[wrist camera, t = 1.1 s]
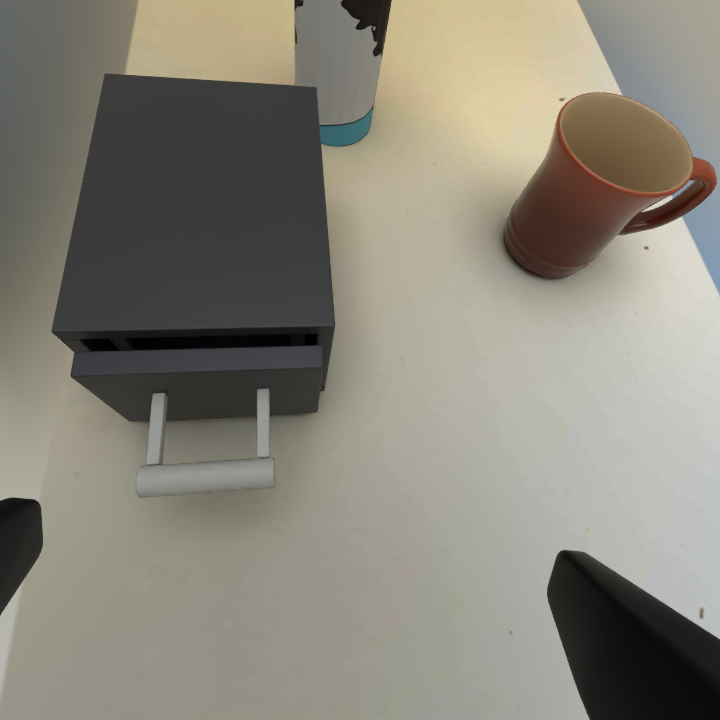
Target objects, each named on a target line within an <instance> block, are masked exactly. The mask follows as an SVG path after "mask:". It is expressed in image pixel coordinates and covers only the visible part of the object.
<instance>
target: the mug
mask: <svg viewBox="0 0 720 720" xmlns="http://www.w3.org/2000/svg"><path fill="white" fill-rule="evenodd" d="M689 180H695V181H694V182H693V183H692V184H691V185H690V186H689V187H687V188H686V189H685V190H684V191H683V192H681V193H680V194H679V195H677V196H676V197H675V198H673V199H672V200H670V201H669V202H667V203H665V204H664V205H662V206H660V207H658V208H655V209H652V210H649V211H645V212H642V211H643V210H645V209H646V208H648V207H650V206H652V205H653V204H655V203H657V202H659V201H661V200H662V199H664V198H666V197H668V196H670V195H672V194H674V193H675V192H677V191H678V190H680V189H681V188H682V187H683V186H685V185H686V183H687V182H688V181H689ZM716 184H717V178H716V173H715V171H714V168H713V166H712V165H711V164H710V163H709V162H707V161H705V160H702V159H699V158H695V157H692V153H691V150H690V148H689V145H688V143H687V142H686V140H685V138H684V136H683V135H682V134H681V132H680V131H679V130H678V129H677V128H676V127H675V126H674V125H673V124H672V123H671V122H670V121H668V120H667V119H666V118H665V117H664V116H662V115H661V114H659V113H658V112H657V111H655V110H653V109H652V108H650V107H648V106H646V105H645V104H643V103H641V102H638V101H636V100H633V99H631V98H628V97H625V96H621V95H617V94H611V93H598V92H597V93H587V94H583V95H580V96H577V97H575V98H573V99H571V100H570V101H568V102H567V103H566V104H565V105H564V106H563V107H562V109H561V110H560V112H559V114H558V117H557V120H556V124H555V128H554V132H553V136H552V139H551V143H550V146H549V149H548V152H547V154H546V156H545V158H544V160H543V162H542V163H541V165H540V166H539V168H538V169H537V171H536V172H535V174H534V175H533V176H532V178H531V179H530V181H529V182H528V184H527V185H526V187H525V188H524V190H523V191H522V193H521V195H520V196H519V198H518V199H517V200H516V201H515V203H514V205H513V207H512V209H511V212H510V214H509V216H508V219H507V223H506V225H505V230H504V237H505V242H506V245H507V247H508V250H509V251H510V253H511V254H512V256H513V257H514V258H515V259H516V260H517V261H518V262H519V263H520V264H521V265H522V266H523V267H525V268H526V269H528V270H530V271H532V272H534V273H536V274H539V275H542V276H546V277H565V276H568V275H571V274H573V273H575V272H576V271H578V270H579V269H582V268H584V267H586V266H587V265H588V264H589V263H590V262H591V261H593V260H594V259H595V258H596V257H597V256H598V255H599V254H600V252H601V251H602V250H603V249H604V248H605V247H606V246H607V245H608V244H609V243H610V242H611V241H612V240H613V239H614V238H615V237H616V236H617V235H626V234H631V233H635V232H640V231H645V230H650V229H654V228H657V227H660V226H662V225H665V224H667V223H670V222H672V221H674V220H676V219H678V218H680V217H681V216H683V215H685V214H686V213H688V212H689V211H691V210H692V209H694V208H695V207H696V206H697V205H699V204H700V203H701V202H702V201H704V200H705V199H706V198H707V197H708V196H709V195H710V194H711V193H712V191H713V190H714V188H715V186H716Z"/></svg>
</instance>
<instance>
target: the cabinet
mask: <svg viewBox="0 0 720 720" xmlns="http://www.w3.org/2000/svg"><path fill="white" fill-rule="evenodd" d="M334 329H335V318H334V305H333V292H332V279H331V266H330V253H329V240H328V227H327V214H326V202H325V189H324V176H323V163H322V150H321V137H320V124H319V111H318V98H317V88H316V87H308V86H293V85H277V84H261V83H246V82H230V81H214V80H199V79H183V78H167V77H152V76H136V75H120V74H105V75H104V80H103V85H102V90H101V95H100V100H99V104H98V109H97V114H96V119H95V124H94V129H93V133H92V138H91V143H90V148H89V153H88V157H87V162H86V167H85V172H84V177H83V182H82V186H81V192H80V196H79V201H78V206H77V211H76V216H75V220H74V225H73V230H72V235H71V240H70V244H69V249H68V254H67V259H66V264H65V268H64V273H63V278H62V283H61V288H60V292H59V297H58V302H57V307H56V312H55V317H54V322H53V326H52V333H53V334H54V335H56V336H57V337H58V338H59V339H61V341H62V342H63V343H65V344H66V345H67V346H68V347H69V348H70V349H71V350H72V351H74V352H89V351H120V350H119V349H118V348H117V347H116V346H115V345H114V344H113V342H112V341H111V340H110V339H109V338H152V337H195V336H239V335H282V334H306V338H305V346H310V345H321V346H322V354H323V373H322V380H321V388H320V391H324V390H325V384H326V378H327V372H328V366H329V360H330V353H331V347H332V341H333V335H334Z"/></svg>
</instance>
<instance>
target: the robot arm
mask: <svg viewBox="0 0 720 720" xmlns="http://www.w3.org/2000/svg"><path fill="white" fill-rule="evenodd" d="M42 546H43V532H42V515H41V506H40V504H39V502H38V501H36V500H34V499H23V498H7V499H4V500H2V501H0V615H1V613H2V612H3V610H4V609H5V607H6V606H7V604H8V602H9V601H10V600H11V598H12V597H13V595H14V594H15V592H16V591H17V589H18V588H19V586H20V585H21V583H22V581H23V580H24V578H25V577H26V575H27V574H28V572H29V571H30V569H31V568H32V566H33V565H34V563H35V562H36V560H37V559H38V557H39V555H40V553H41V550H42ZM547 597H548V602H549V605H550V608H551V611H552V614H553V617H554V620H555V623H556V626H557V629H558V632H559V636H560V639H561V642H562V645H563V648H564V651H565V654H566V657H567V660H568V663H569V666H570V669H571V672H572V675H573V678H574V681H575V683H576V686H577V689H578V692H579V695H580V697H581V699H582V702H583V704H584V707H585V709H586V712H587V714H588V716H589V719H590V720H720V639H718V638H717V637H715V636H714V635H712V634H711V633H709V632H707V631H706V630H704V629H703V628H701V627H700V626H698V625H697V624H695V623H694V622H692V621H690V620H689V619H687V618H686V617H684V616H683V615H681V614H680V613H678V612H676V611H675V610H673V609H672V608H670V607H669V606H667V605H666V604H664V603H663V602H661V601H659V600H658V599H656V598H655V597H653V596H652V595H650V594H649V593H647V592H645V591H644V590H642V589H641V588H639V587H638V586H636V585H635V584H633V583H632V582H630V581H628V580H627V579H625V578H624V577H622V576H621V575H619V574H618V573H616V572H615V571H613V570H611V569H610V568H608V567H607V566H605V565H604V564H602V563H601V562H599V561H597V560H596V559H594V558H593V557H591V556H590V555H588V554H586V553H584V552H581V551H570V550H562V551H560V552H559V553H558V555H557V557H556V560H555V563H554V567H553V570H552V574H551V577H550V581H549V584H548V589H547Z"/></svg>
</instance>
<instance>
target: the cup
mask: <svg viewBox="0 0 720 720" xmlns="http://www.w3.org/2000/svg"><path fill="white" fill-rule="evenodd" d="M391 1H392V0H295V86H308V87H316V88H317V98H318V111H319V124H320V137H321V143H323V144H326V145H333V146H344V145H350V144H353V143H355V142H358V141H360V140H361V139H362V138H363V137H364V136H365V135H367V133H368V131H369V128H370V125H371V119H372V113H373V108H374V102H375V96H376V90H377V84H378V78H379V72H380V66H381V60H382V54H383V48H384V43H385V37H386V31H387V25H388V19H389V13H390V7H391Z"/></svg>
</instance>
